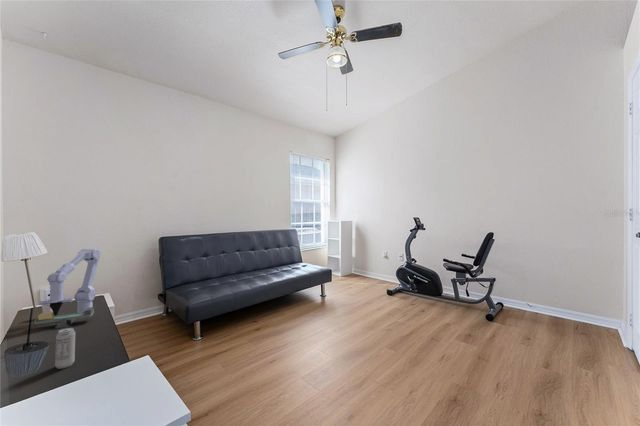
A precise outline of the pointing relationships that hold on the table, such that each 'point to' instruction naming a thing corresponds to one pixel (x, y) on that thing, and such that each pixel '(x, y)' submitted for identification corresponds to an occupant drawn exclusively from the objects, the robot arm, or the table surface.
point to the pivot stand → (64, 323)
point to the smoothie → (46, 307)
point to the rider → (46, 316)
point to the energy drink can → (65, 348)
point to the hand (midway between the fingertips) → (56, 315)
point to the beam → (68, 316)
